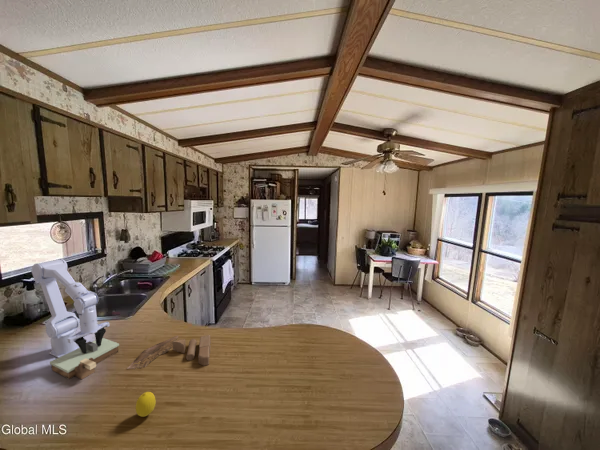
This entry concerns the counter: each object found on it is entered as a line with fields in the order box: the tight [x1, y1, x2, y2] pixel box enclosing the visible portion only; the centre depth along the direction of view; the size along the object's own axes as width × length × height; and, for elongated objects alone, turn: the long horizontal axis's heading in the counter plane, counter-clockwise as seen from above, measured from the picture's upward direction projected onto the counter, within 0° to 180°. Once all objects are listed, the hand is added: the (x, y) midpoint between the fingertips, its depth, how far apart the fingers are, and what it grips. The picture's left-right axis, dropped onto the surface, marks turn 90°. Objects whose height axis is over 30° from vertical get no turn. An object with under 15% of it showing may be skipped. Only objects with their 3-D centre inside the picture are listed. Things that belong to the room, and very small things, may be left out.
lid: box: [49, 337, 120, 373], centre depth 102 cm, size 14×19×4 cm
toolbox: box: [51, 346, 119, 380], centre depth 101 cm, size 18×18×6 cm
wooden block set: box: [172, 334, 212, 367], centre depth 105 cm, size 17×6×18 cm
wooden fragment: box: [126, 335, 179, 370], centre depth 109 cm, size 26×11×1 cm, turn 158°
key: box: [80, 358, 97, 370], centre depth 93 cm, size 7×2×2 cm, turn 68°
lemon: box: [135, 391, 157, 418], centre depth 76 cm, size 6×6×8 cm
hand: (91, 348), depth 104 cm, fingers open, 5 cm apart
